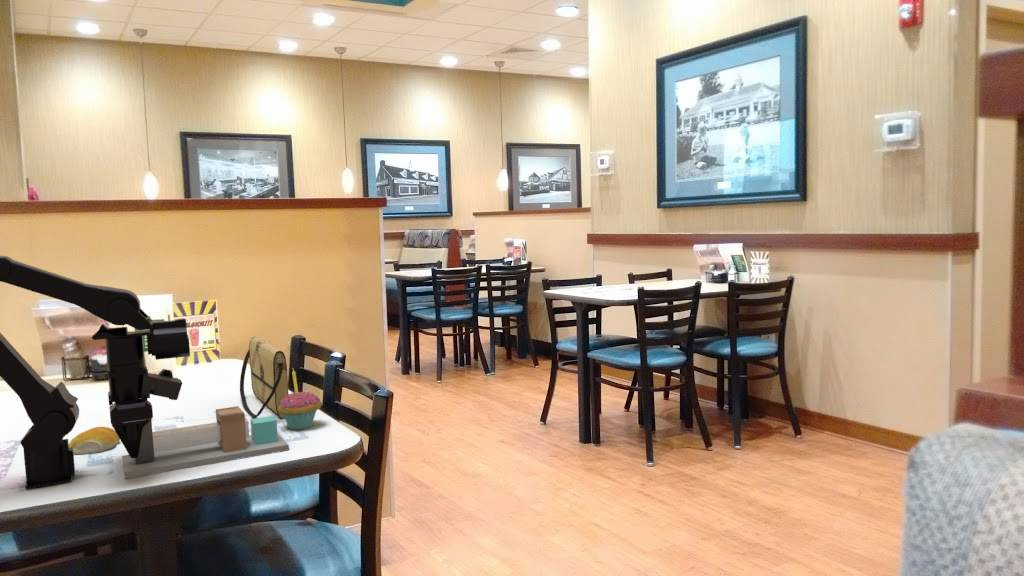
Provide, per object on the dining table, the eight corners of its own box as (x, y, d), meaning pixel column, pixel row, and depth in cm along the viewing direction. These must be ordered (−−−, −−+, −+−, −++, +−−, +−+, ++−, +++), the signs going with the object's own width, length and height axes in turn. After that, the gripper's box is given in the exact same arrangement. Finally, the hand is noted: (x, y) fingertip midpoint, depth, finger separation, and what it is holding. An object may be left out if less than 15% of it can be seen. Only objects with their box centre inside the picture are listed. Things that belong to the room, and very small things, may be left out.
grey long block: (135, 463, 129) (132, 422, 128) (134, 457, 133) (131, 417, 132) (250, 444, 138) (247, 405, 138) (246, 439, 142) (243, 401, 141)
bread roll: (124, 440, 150) (122, 420, 150) (111, 453, 141) (109, 432, 141) (78, 444, 148) (76, 424, 148) (62, 457, 139) (60, 436, 139)
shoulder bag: (233, 399, 182) (229, 338, 181) (263, 395, 186) (259, 335, 185) (259, 425, 157) (254, 354, 155) (292, 420, 160) (288, 351, 159)
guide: (124, 478, 125) (121, 434, 125) (122, 461, 135) (119, 420, 134) (288, 449, 138) (286, 410, 138) (276, 436, 148) (273, 398, 147)
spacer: (254, 423, 138) (276, 420, 140) (250, 419, 142) (272, 415, 144) (255, 444, 139) (277, 441, 141) (251, 439, 142) (273, 436, 144)
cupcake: (272, 427, 155) (268, 369, 154) (309, 418, 161) (305, 363, 160) (292, 434, 149) (288, 374, 148) (330, 425, 155) (327, 368, 154)
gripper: (182, 365, 125) (189, 456, 126) (172, 350, 141) (178, 431, 143) (106, 373, 120) (114, 468, 121) (105, 357, 136) (112, 441, 137)
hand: (133, 451), depth 131 cm, fingers open, 9 cm apart
